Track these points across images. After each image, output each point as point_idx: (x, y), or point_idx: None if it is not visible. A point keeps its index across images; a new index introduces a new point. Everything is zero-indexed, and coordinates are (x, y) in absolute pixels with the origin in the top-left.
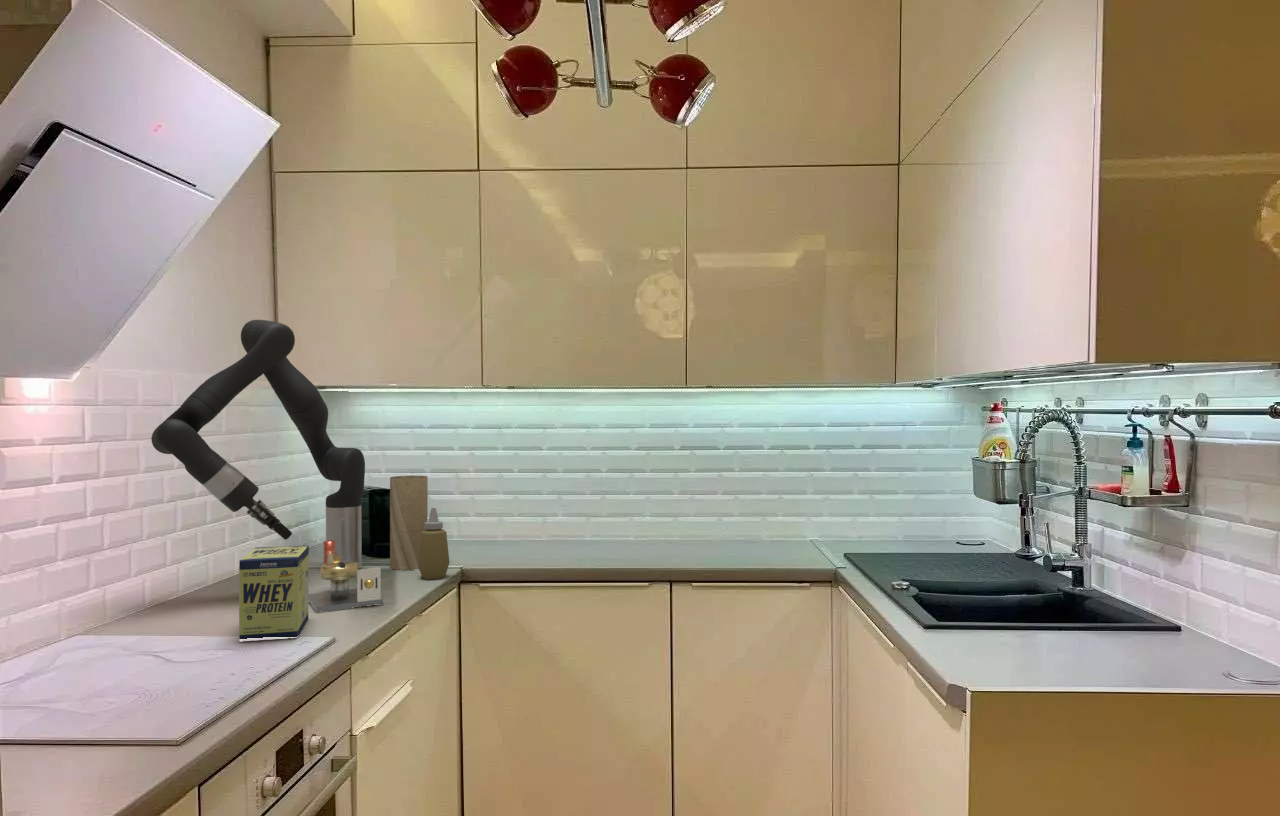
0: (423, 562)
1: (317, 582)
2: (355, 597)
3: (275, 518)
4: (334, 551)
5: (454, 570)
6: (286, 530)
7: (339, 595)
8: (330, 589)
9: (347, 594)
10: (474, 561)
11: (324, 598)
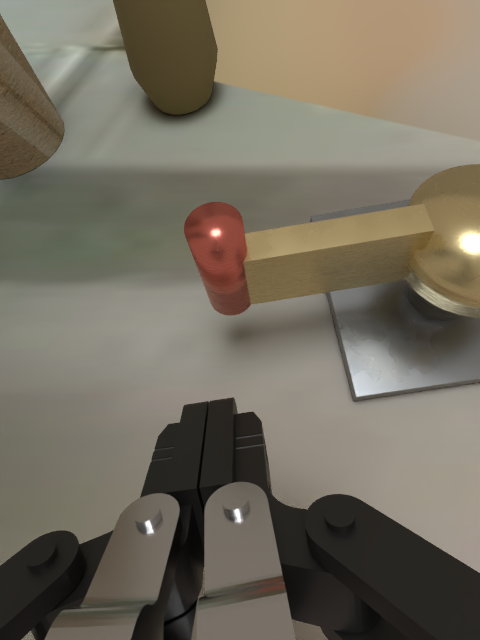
0: (198, 66)
1: (79, 369)
2: None
3: (449, 557)
4: (290, 230)
5: (123, 60)
6: (261, 436)
7: None
8: None
9: None
10: (43, 28)
11: (446, 337)
